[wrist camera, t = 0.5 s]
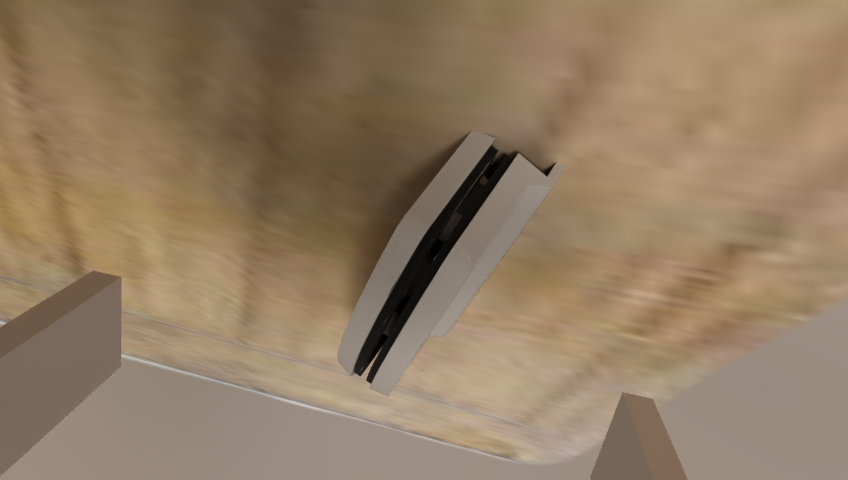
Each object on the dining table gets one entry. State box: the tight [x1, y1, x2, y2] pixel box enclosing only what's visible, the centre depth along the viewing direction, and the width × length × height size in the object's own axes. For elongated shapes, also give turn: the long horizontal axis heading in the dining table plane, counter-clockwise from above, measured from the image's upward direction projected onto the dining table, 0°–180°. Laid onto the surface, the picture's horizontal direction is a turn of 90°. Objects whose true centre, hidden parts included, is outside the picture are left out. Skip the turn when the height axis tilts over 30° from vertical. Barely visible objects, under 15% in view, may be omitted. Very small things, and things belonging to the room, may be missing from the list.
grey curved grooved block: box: [338, 131, 565, 396], centre depth 32 cm, size 17×5×10 cm, turn 163°
